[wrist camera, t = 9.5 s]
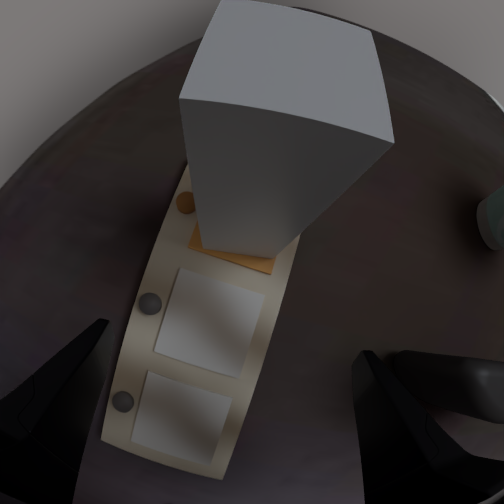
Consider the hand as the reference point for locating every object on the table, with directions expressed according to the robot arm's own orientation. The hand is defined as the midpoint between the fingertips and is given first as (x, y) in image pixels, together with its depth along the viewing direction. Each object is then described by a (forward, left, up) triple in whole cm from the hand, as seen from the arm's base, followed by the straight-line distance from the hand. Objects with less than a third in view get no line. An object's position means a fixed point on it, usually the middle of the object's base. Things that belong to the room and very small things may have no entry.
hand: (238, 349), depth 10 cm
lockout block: (+7, +1, -8) cm, 11 cm away
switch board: (0, +2, -10) cm, 10 cm away
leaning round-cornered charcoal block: (+1, -21, -10) cm, 23 cm away
